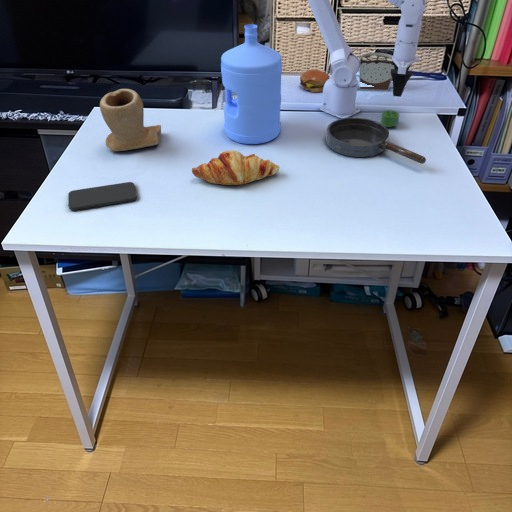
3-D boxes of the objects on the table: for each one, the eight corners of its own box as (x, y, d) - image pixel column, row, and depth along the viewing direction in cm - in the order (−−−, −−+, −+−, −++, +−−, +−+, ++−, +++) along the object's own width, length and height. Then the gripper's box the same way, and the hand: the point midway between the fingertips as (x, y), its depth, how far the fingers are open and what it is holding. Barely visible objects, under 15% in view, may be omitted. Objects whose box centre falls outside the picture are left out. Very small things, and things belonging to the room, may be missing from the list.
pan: (313, 142, 134) (314, 130, 131) (351, 123, 142) (353, 112, 140) (361, 164, 125) (363, 152, 122) (399, 143, 133) (401, 131, 131)
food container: (391, 83, 163) (396, 52, 157) (393, 91, 159) (398, 59, 152) (353, 82, 164) (357, 51, 158) (354, 89, 160) (358, 58, 153)
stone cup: (107, 160, 127) (94, 104, 117) (106, 138, 136) (94, 85, 126) (166, 152, 130) (158, 98, 120) (161, 132, 139) (154, 79, 129)
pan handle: (379, 148, 127) (380, 141, 126) (384, 145, 128) (385, 138, 127) (421, 166, 120) (423, 159, 119) (426, 163, 121) (428, 156, 120)
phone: (137, 197, 113) (68, 208, 110) (137, 200, 113) (69, 211, 110) (133, 181, 118) (68, 190, 115) (134, 184, 119) (69, 193, 115)
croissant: (276, 179, 126) (275, 147, 124) (284, 182, 116) (282, 148, 114) (193, 185, 123) (190, 152, 122) (193, 188, 114) (190, 153, 112)
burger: (326, 80, 166) (327, 66, 163) (332, 92, 159) (333, 77, 156) (297, 82, 165) (297, 68, 162) (301, 93, 158) (302, 79, 155)
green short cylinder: (376, 125, 141) (378, 112, 138) (386, 120, 143) (388, 107, 141) (390, 131, 138) (392, 118, 135) (400, 125, 140) (403, 113, 138)
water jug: (283, 121, 143) (287, 18, 125) (275, 147, 131) (278, 38, 113) (231, 117, 145) (226, 15, 127) (218, 143, 134) (212, 34, 115)
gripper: (422, 50, 123) (411, 102, 132) (423, 32, 134) (413, 81, 143) (393, 48, 125) (384, 99, 134) (396, 30, 135) (388, 79, 144)
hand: (397, 90), depth 138 cm, fingers open, 7 cm apart
